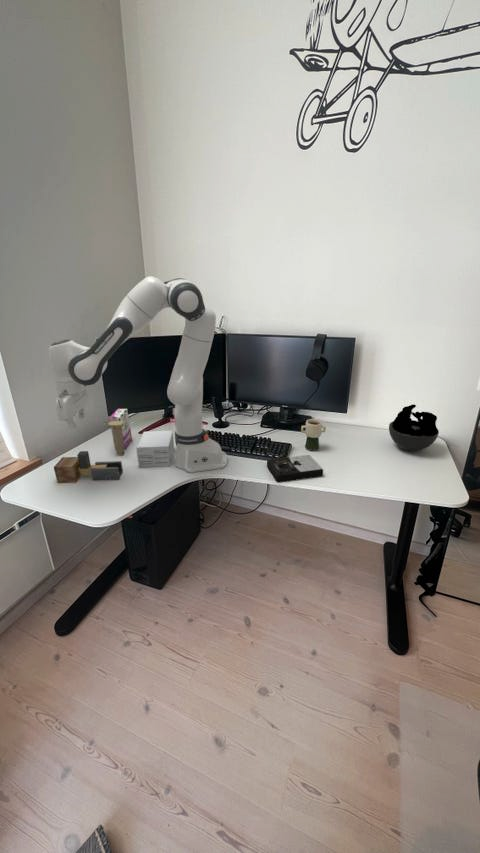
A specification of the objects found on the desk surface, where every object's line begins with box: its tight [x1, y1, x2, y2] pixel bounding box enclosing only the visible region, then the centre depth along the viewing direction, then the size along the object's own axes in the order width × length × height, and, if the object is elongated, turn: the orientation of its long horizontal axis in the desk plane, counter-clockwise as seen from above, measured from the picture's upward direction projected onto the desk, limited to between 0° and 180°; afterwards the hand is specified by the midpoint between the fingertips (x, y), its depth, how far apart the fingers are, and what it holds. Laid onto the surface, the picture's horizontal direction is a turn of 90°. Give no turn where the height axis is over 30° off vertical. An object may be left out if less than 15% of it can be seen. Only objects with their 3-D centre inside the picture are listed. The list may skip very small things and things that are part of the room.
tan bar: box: [76, 450, 108, 477], centre depth 136 cm, size 16×3×9 cm, turn 93°
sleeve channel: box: [91, 460, 124, 482], centre depth 138 cm, size 10×6×5 cm, turn 93°
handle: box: [107, 421, 125, 456], centre depth 154 cm, size 5×6×15 cm
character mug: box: [300, 418, 327, 451], centre depth 158 cm, size 11×7×13 cm, turn 90°
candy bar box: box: [108, 408, 133, 451], centre depth 162 cm, size 11×5×16 cm, turn 179°
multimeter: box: [266, 454, 324, 484], centre depth 141 cm, size 13×19×5 cm
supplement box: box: [136, 430, 175, 468], centre depth 152 cm, size 17×13×9 cm
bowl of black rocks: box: [388, 404, 440, 451], centre depth 156 cm, size 20×20×19 cm
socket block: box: [53, 456, 82, 484], centre depth 137 cm, size 7×8×7 cm
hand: (77, 423), depth 130 cm, fingers open, 8 cm apart
